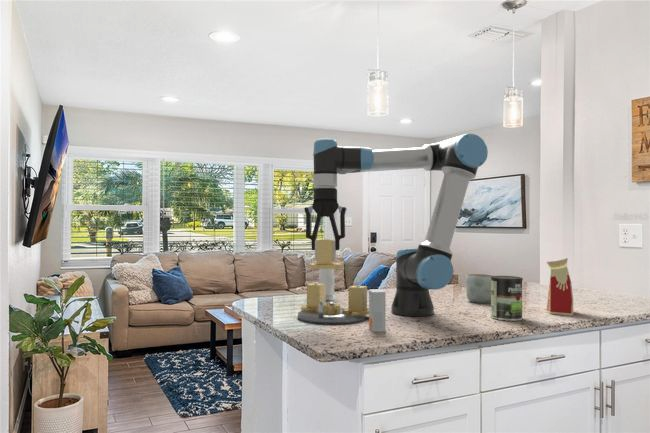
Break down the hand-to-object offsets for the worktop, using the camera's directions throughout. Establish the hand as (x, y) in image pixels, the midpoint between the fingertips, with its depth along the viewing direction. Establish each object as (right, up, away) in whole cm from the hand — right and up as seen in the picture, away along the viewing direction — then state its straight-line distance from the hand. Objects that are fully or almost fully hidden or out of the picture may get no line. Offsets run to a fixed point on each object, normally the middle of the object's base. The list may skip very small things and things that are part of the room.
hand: (325, 260), depth 166 cm
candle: (0, -21, +53) cm, 57 cm away
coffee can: (+62, -21, +12) cm, 67 cm away
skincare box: (+16, -21, -8) cm, 27 cm away
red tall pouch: (+85, -21, +23) cm, 91 cm away
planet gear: (0, -2, 0) cm, 2 cm away
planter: (+64, -21, +47) cm, 82 cm away
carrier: (+2, -21, +11) cm, 24 cm away
